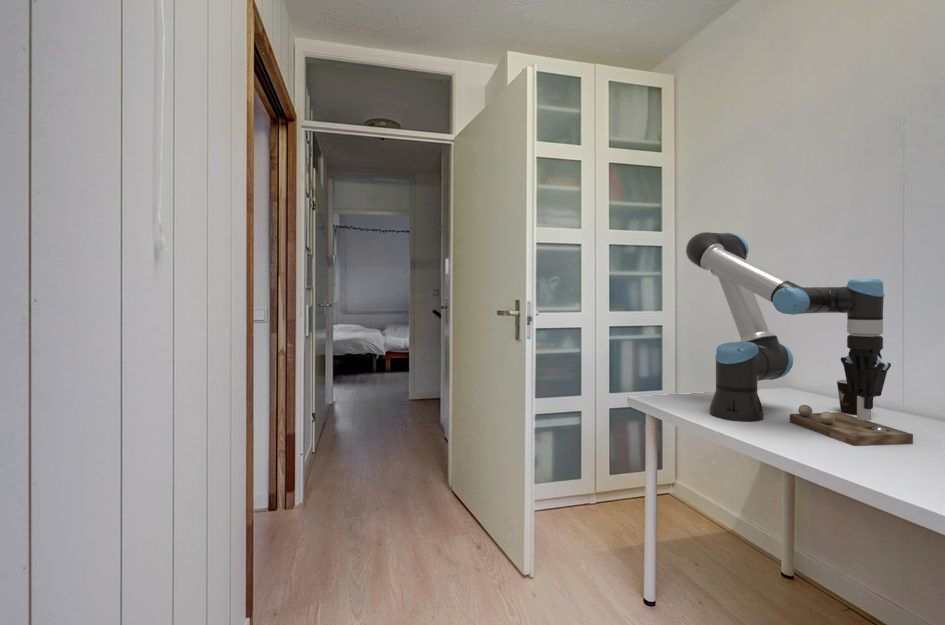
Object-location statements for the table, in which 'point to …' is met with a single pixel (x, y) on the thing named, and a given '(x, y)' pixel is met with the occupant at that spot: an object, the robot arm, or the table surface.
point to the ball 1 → (805, 410)
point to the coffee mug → (846, 398)
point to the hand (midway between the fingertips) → (863, 419)
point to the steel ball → (878, 429)
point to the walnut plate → (852, 430)
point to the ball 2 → (827, 417)
